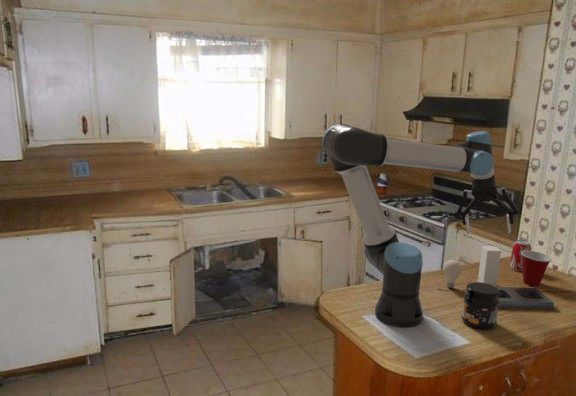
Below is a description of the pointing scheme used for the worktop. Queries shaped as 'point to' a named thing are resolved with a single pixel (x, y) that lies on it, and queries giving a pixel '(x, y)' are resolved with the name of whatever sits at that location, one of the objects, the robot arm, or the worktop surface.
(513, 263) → the soda can
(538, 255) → the plastic cup
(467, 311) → the supplement container
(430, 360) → the worktop surface
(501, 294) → the rail plate
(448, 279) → the light bulb
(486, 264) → the square post
